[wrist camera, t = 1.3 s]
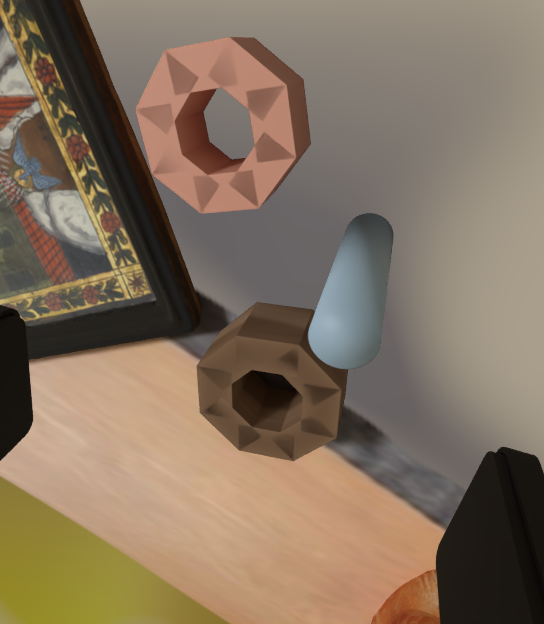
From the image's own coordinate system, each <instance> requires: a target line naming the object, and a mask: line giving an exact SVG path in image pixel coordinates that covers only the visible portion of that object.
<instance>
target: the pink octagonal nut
mask: <svg viewBox="0 0 544 624" xmlns="http://www.w3.org/2000/svg"><path fill="white" fill-rule="evenodd" d="M221 87H222V88H223V89H224V90H225V91H226V92H228V93H229V94H230V95H231V96H233V97H234V98H235V99H236V100H237V101H239V102H240V103H241V104H242V105H244V106H245V107H246V108H247V109H248V110H249V113H250V119H251V125H252V132H253V138H254V144H255V146H254V147H253V149H252V150H251V152H250V153H249V155H248V156H247V158H242V159H234V160H231V159H230V158H229V157H228V156H227V155H225V154H224V153H223V152H222V151H220V150H219V149H218V148H217V147H215V146H214V145H213V144H212V143H210V142H209V138H208V133H207V128H206V123H205V118H204V113H203V111H204V110H205V108H206V106H207V105H208V103H209V101H210V99H211V97H212V96H213V94H214V92H215V91H216V89H217V88H221ZM135 111H136V114H137V118H138V122H139V126H140V130H141V134H142V138H143V142H144V146H145V149H146V153H147V157H148V161H149V165H150V169H151V173H152V175H153V176H154V177H156V178H157V179H158V180H160V181H161V182H162V183H163V184H165V185H166V186H167V187H168V188H170V189H171V190H172V191H173V192H175V193H176V194H177V195H178V196H180V197H181V198H182V199H183V200H185V201H186V202H187V203H188V204H190V205H191V206H192V207H194V208H195V209H196V210H197V211H199V212H200V213H213V212H224V211H236V210H246V209H258V208H260V207H261V206H262V205H263V204H264V202H265V201H266V200H267V199H268V198H269V197H270V196H271V195H272V194H273V193H274V192H275V191H276V190H277V189H278V187H279V186H280V185H281V183H282V182H283V180H284V179H285V178H286V176H287V175H288V174H289V172H290V171H291V170H292V168H293V167H294V166H295V164H296V163H297V162H298V160H299V159H300V158H301V156H302V155H303V154H304V152H305V151H306V150H307V148H308V147H309V146H310V144H311V141H310V132H309V124H308V115H307V107H306V98H305V90H304V81H303V79H302V78H301V77H300V76H299V75H298V74H296V73H295V72H294V71H293V70H292V69H290V68H289V67H288V66H287V65H286V64H284V63H283V62H282V61H281V60H280V59H279V58H277V57H276V56H275V55H274V54H273V53H272V52H270V51H269V50H268V49H267V48H266V47H264V46H263V45H262V44H261V43H260V42H259V41H257V40H256V39H255V38H243V37H228V38H223V39H218V40H213V41H208V42H203V43H198V44H193V45H187V46H182V47H177V48H172V49H168V50H165V51H164V53H163V55H162V57H161V59H160V61H159V63H158V65H157V67H156V69H155V71H154V73H153V75H152V77H151V79H150V81H149V83H148V85H147V87H146V89H145V91H144V93H143V95H142V97H141V99H140V101H139V103H138V105H137V107H136V109H135Z"/></svg>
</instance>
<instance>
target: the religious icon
mask: <svg viewBox="0 0 544 624" xmlns="http://www.w3.org/2000/svg"><path fill="white" fill-rule="evenodd" d="M0 305H3V306H6V307H10V308H13V309H15V310H17V311H18V313H19V314H20V318H22V319H23V320H24V321H25V325H26V336H27V348H28V360H29V359H37V358H38V359H39V358H42V357H46V356H52V355H59V354H65V353H71V352H76V351H82V350H88V349H94V348H100V347H106V346H111V345H117V344H123V343H129V342H135V341H141V340H147V339H153V338H159V337H165V336H171V335H177V334H182V333H187V332H190V331H193V330H195V329H197V328H198V326H199V324H200V316H201V306H200V303H199V300H198V298H197V295H196V292H195V290H194V287H193V284H192V281H191V278H190V276H189V273H188V270H187V268H186V265H185V262H184V260H183V257H182V255H181V252H180V249H179V246H178V243H177V241H176V238H175V235H174V233H173V230H172V228H171V225H170V222H169V219H168V216H167V213H166V211H165V208H164V206H163V203H162V201H161V198H160V196H159V193H158V191H157V188H156V186H155V183H154V181H153V178H152V176H151V173H150V171H149V168H148V165H147V163H146V160H145V158H144V156H143V154H142V151H141V149H140V146H139V144H138V141H137V139H136V136H135V134H134V132H133V129H132V127H131V124H130V122H129V120H128V117H127V115H126V113H125V111H124V108H123V106H122V103H121V101H120V99H119V97H118V95H117V93H116V90H115V88H114V86H113V83H112V81H111V78H110V75H109V72H108V70H107V67H106V65H105V62H104V59H103V57H102V54H101V52H100V49H99V47H98V45H97V42H96V39H95V37H94V34H93V32H92V29H91V27H90V25H89V22H88V20H87V17H86V15H85V13H84V10H83V7H82V5H81V3H80V0H0Z"/></svg>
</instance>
